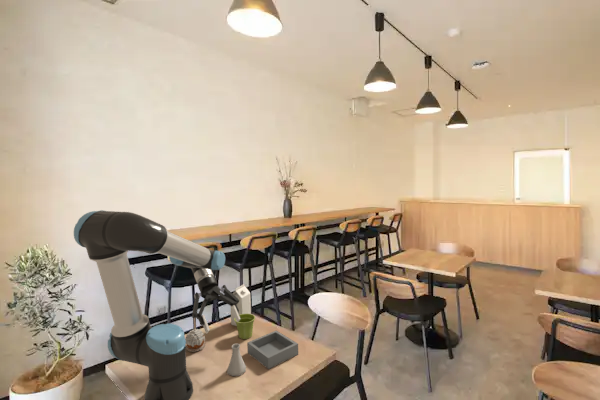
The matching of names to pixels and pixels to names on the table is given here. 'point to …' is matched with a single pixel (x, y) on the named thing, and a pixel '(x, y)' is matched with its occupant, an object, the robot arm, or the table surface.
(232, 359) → the flask
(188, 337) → the decorative ornament
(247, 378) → the table surface
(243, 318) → the plant pot
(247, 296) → the milk carton
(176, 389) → the robot arm
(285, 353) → the open box
